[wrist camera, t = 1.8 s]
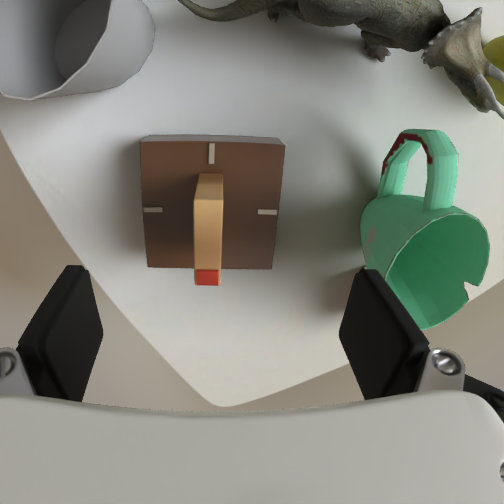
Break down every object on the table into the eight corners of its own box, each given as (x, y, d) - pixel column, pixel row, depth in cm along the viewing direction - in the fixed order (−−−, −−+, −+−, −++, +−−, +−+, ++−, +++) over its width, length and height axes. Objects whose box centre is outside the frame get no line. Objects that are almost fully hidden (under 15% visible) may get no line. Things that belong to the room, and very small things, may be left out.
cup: (87, 111, 21) (19, 132, 12) (41, 42, 17) (-35, 35, 9) (175, 46, 20) (145, 20, 11) (123, -25, 16) (75, -72, 7)
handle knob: (199, 173, 22) (192, 201, 17) (222, 173, 22) (223, 201, 17) (198, 243, 24) (194, 288, 19) (220, 244, 24) (220, 288, 19)
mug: (422, 253, 30) (475, 311, 22) (337, 274, 31) (375, 346, 22) (424, 111, 23) (504, 134, 15) (323, 119, 23) (380, 142, 15)
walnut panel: (148, 135, 23) (139, 142, 20) (278, 138, 24) (286, 145, 21) (153, 249, 27) (147, 268, 25) (267, 251, 29) (272, 270, 26)
